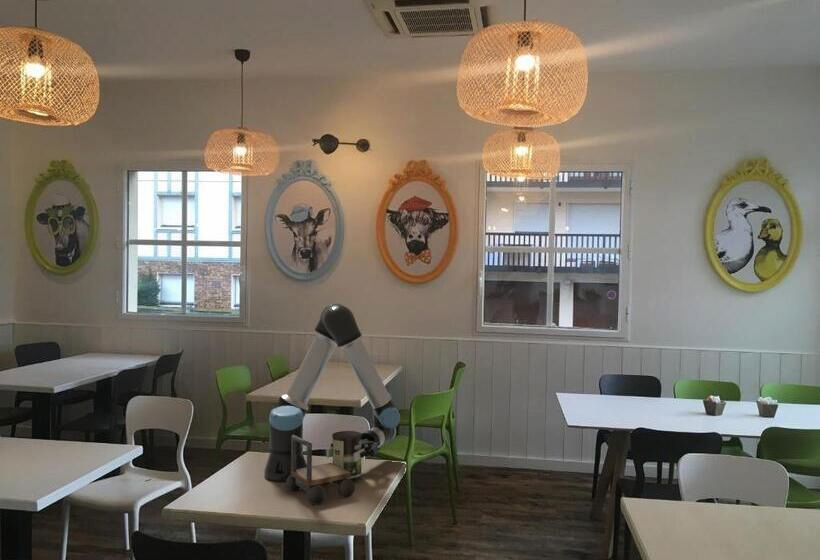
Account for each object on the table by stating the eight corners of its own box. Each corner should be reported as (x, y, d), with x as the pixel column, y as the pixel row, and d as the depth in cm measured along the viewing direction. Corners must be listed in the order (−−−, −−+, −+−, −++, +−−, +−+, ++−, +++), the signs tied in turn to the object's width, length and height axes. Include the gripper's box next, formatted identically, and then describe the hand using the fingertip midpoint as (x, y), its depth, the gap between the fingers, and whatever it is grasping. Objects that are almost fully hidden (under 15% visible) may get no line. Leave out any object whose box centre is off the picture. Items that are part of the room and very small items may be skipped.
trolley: (309, 506, 197) (309, 445, 197) (286, 491, 210) (286, 434, 210) (355, 495, 207) (355, 437, 207) (330, 481, 220) (330, 427, 220)
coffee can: (365, 470, 227) (365, 431, 227) (356, 479, 217) (356, 438, 217) (337, 468, 229) (337, 429, 229) (328, 478, 219) (328, 437, 219)
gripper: (398, 453, 235) (369, 470, 215) (344, 446, 244) (312, 462, 224) (398, 433, 235) (369, 448, 214) (344, 427, 244) (312, 441, 224)
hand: (340, 455), depth 219 cm, fingers closed on coffee can, 10 cm apart
